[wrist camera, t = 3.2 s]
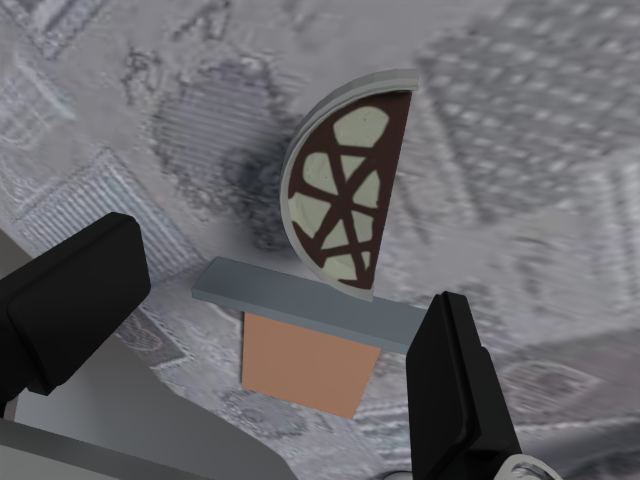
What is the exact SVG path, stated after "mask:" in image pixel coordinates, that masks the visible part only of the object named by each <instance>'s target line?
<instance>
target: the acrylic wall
mask: <svg viewBox="0 0 640 480" xmlns="http://www.w3.org/2000/svg"><path fill="white" fill-rule="evenodd" d="M191 289H192V298H195V299H198V300H202V301H206V302H210V303H213V304H217V305H221V306H224V307H228V308H232V309H236V310H239V311H243V312H247V313H250V314H254V315H258V316H262V317H265V318H269V319H273V320H276V321H280V322H284V323H288V324H291V325H295V326H299V327H302V328H306V329H310V330H314V331H317V332H321V333H325V334H329V335H332V336H336V337H340V338H343V339H347V340H351V341H355V342H358V343H362V344H366V345H369V346H373V347H377V348H381V349H384V350H388V351H392V352H395V353H399V354H403V355H407V352H408V349H409V347H410V345H411V343H412V341H413V339H414V337H415V335H416V333H417V331H418V329H419V327H420V325H421V323H422V321H423V319H424V317H425V315H426V313H427V311H428V310H424V309H420V308H417V307H413V306H409V305H405V304H401V303H397V302H393V301H389V300H385V299H381V298H377V297H374V296H373V301H372V302H370V301H366V300H362V299H358V298H356V297H353V296H350V295H348V294H345V293H343V292H341V291H339V290H337V289H335V288H333V287H332V286H330V285H327V284H323V283H319V282H315V281H311V280H307V279H303V278H299V277H295V276H292V275H288V274H284V273H280V272H276V271H272V270H268V269H264V268H260V267H256V266H252V265H249V264H245V263H241V262H237V261H233V260H229V259H225V258H221V257H217V258H216V259H215V260H214V262H213V263H212V264H211V265H210V266H209V268H208V269H207V270H206V271H205V272H204V274H203V275H202V276H201V277H200V278H199V280H198V281H197V282H196V283H195V284H194V286H193V287H192V288H191Z"/></svg>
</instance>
